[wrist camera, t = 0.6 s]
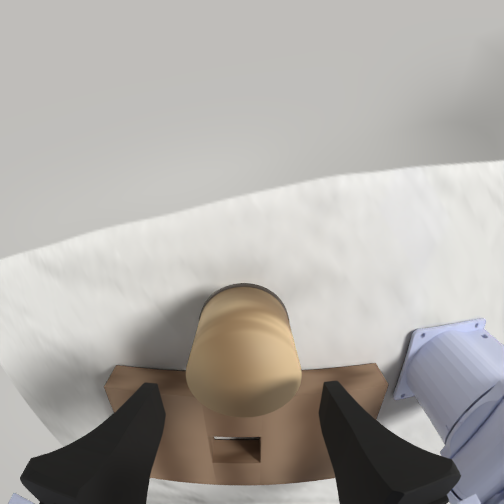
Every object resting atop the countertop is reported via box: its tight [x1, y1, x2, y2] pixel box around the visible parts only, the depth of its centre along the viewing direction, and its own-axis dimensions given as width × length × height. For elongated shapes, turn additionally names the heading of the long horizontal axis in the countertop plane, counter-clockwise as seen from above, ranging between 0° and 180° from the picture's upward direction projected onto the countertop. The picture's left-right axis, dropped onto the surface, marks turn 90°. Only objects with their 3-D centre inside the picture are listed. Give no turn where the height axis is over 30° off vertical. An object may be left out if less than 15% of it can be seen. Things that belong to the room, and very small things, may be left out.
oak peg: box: [186, 283, 302, 418], centre depth 17 cm, size 6×6×8 cm
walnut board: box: [104, 363, 388, 485], centre depth 23 cm, size 22×14×3 cm, turn 90°
